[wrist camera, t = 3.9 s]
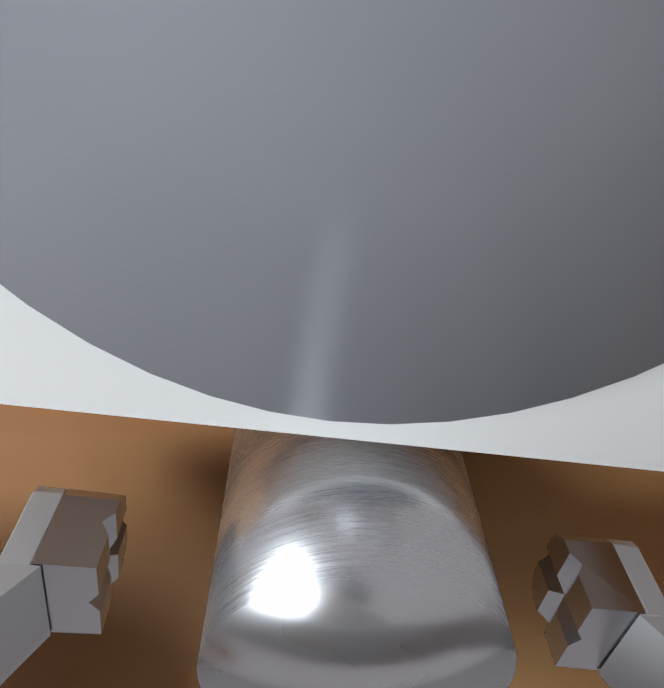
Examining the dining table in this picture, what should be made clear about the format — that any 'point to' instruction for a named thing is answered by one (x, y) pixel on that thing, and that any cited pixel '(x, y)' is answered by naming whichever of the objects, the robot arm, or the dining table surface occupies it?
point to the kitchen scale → (340, 219)
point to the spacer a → (351, 571)
